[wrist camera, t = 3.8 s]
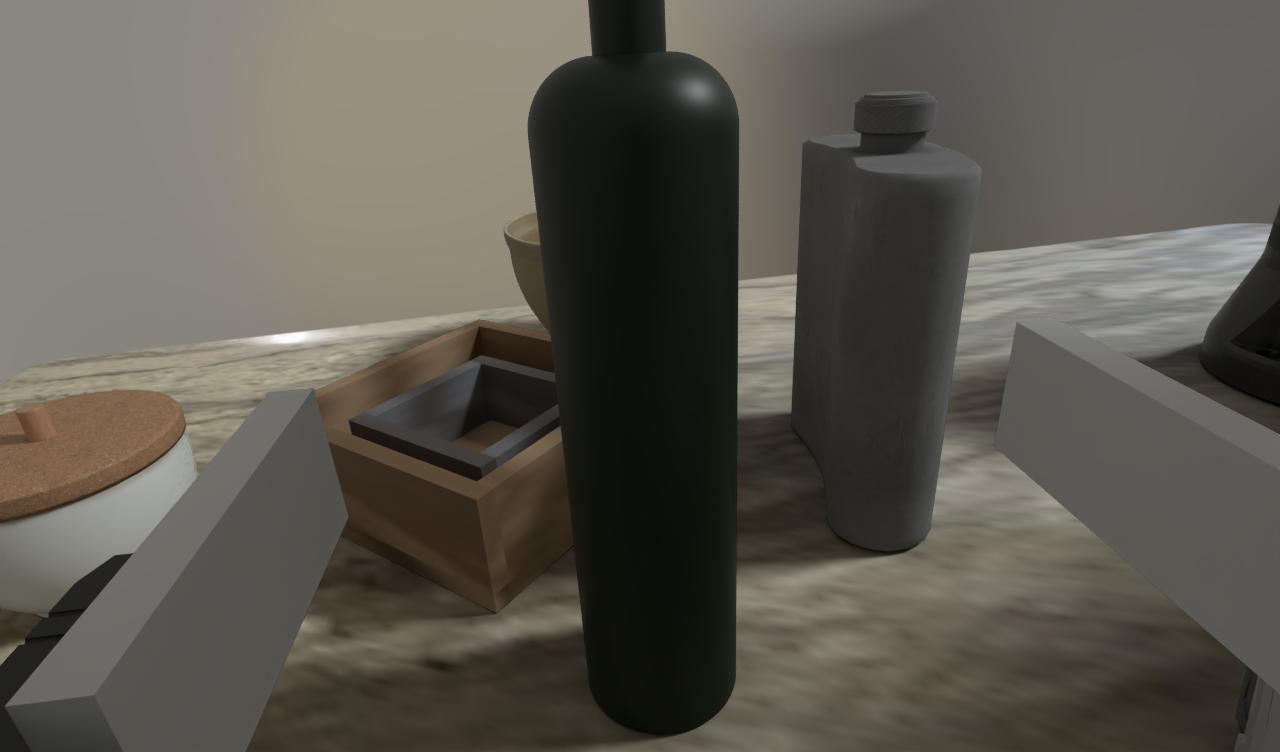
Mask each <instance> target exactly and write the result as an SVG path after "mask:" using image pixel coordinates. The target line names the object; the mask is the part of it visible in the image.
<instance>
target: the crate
mask: <svg viewBox="0 0 1280 752" xmlns="http://www.w3.org/2000/svg"><path fill="white" fill-rule="evenodd" d="M315 395H316V399H317V403H318V406H319V410H320V414H321V417H322V421H323V425H324V428H325V432H326V436H327V439H328V443H329V447H330V450H331V454H332V458H333V462H334V465H335V469H336V473H337V476H338V480H339V484H340V487H341V491H342V495H343V498H344V502H345V506H346V510H347V513H348V519H347V522H346V524H345V526H344V529H343V531H342V533H341V536H343V537H345V538H347V539H349V540H351V541H353V542H355V543H357V544H359V545H361V546H363V547H365V548H367V549H369V550H371V551H373V552H375V553H377V554H379V555H381V556H383V557H385V558H387V559H389V560H391V561H393V562H395V563H397V564H399V565H401V566H403V567H405V568H407V569H409V570H411V571H413V572H415V573H417V574H419V575H421V576H423V577H425V578H427V579H429V580H431V581H433V582H435V583H437V584H439V585H441V586H443V587H445V588H447V589H449V590H451V591H453V592H455V593H457V594H459V595H461V596H463V597H465V598H467V599H469V600H471V601H473V602H475V603H477V604H479V605H481V606H483V607H485V608H487V609H489V610H491V611H493V612H495V613H498V612H499V611H500V610H501V609H502V608H503V607H504V606H506V605H507V604H508V603H509V602H510V601H511V600H512V599H513V598H515V597H516V596H517V595H518V594H519V593H520V592H521V591H522V590H524V589H525V588H526V587H527V586H528V585H529V584H530V583H531V582H533V581H534V580H535V579H536V578H537V577H538V576H539V575H540V574H542V573H543V572H544V571H545V570H546V569H547V568H548V567H549V566H551V565H552V564H553V563H554V562H555V561H556V560H557V559H558V558H560V557H561V556H562V555H563V554H564V553H565V552H566V551H568V550H569V549H570V548H571V547H572V546H573V545H574V542H573V533H572V524H571V515H570V506H569V497H568V488H567V479H566V470H565V461H564V452H563V444H562V435H561V426H560V417H559V408H558V399H557V390H556V381H555V372H554V363H553V354H552V345H551V336H550V334H547V333H542V332H538V331H533V330H528V329H523V328H518V327H513V326H509V325H504V324H499V323H494V322H489V321H484V320H480V319H479V320H477V321H474V322H472V323H470V324H468V325H465V326H463V327H461V328H458V329H456V330H454V331H451V332H449V333H447V334H444V335H442V336H440V337H437V338H435V339H433V340H431V341H428V342H426V343H424V344H421V345H419V346H417V347H414V348H412V349H410V350H407V351H405V352H403V353H401V354H398V355H396V356H394V357H391V358H389V359H387V360H384V361H382V362H380V363H377V364H375V365H373V366H370V367H368V368H366V369H364V370H361V371H359V372H357V373H354V374H352V375H350V376H347V377H345V378H343V379H340V380H338V381H336V382H333V383H331V384H329V385H327V386H324V387H322V388H320V389H317V390H315Z"/></svg>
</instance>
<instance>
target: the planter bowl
mask: <svg viewBox="0 0 1280 752" xmlns="http://www.w3.org/2000/svg"><path fill="white" fill-rule="evenodd" d="M504 237H505V240H506V243H507V245H508V247H509V249H510V253H511V259H512V264H513V268H514V272H515V275H516V278H517V281H518V284H519V286H520V289H521V291H522V293H523V295H524V297H525V299H526V301H527V303H528V304H529V306H530V308H531V309H532V311H533V312H534V313H535V315H536V316H537V317H538V319H539V320H540V321H541V323H542V324H543V325H544V326H545V328H546V329H547V330H548V331H549V332H550V327H549V318H548V309H547V301H546V292H545V283H544V274H543V265H542V256H541V247H540V238H539V229H538V220H537V211H536V210H534V211H531V212H528V213H525V214H522V215H520V216H518V217H516V218H513V219H512V220H510V221H509V222H508V223H507V224H506V225H505V227H504Z"/></svg>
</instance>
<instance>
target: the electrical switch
mask: <svg viewBox="0 0 1280 752" xmlns="http://www.w3.org/2000/svg"><path fill="white" fill-rule="evenodd" d="M1235 719H1236V720H1237V722H1238V724H1239V725H1240V727H1241V729H1242V731H1243V732H1244V734H1241V733H1238V737H1237V740H1236V744H1235V748H1234V752H1280V694H1279V693H1278V692H1276V691H1275V690H1274V689H1273V688H1272V687H1271V686H1270V685H1268V684H1267V683H1266V682H1265V681H1264V680H1263V679H1262V678H1260V677H1259V676H1258V675H1257V674H1256V673H1255V672H1253V671H1252V670H1251V669H1250V668H1249V667H1248V666H1247V669H1246V673H1245V678H1244V682H1243V686H1242V691H1241V695H1240V699H1239V704H1238V708H1237V712H1236V717H1235Z"/></svg>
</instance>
